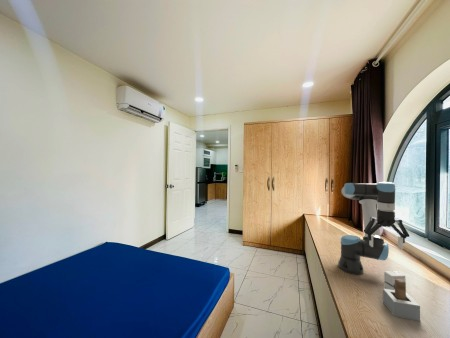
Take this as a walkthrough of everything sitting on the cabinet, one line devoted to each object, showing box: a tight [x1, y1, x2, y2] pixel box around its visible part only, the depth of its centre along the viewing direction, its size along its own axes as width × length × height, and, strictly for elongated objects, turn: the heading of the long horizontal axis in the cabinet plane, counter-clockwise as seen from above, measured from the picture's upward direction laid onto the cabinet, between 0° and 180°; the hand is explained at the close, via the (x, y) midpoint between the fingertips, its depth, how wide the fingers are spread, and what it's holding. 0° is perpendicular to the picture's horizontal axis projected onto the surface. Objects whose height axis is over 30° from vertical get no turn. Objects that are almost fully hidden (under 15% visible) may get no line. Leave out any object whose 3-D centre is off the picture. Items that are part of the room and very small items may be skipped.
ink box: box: [383, 270, 407, 290], centre depth 104 cm, size 9×5×12 cm, turn 92°
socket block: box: [382, 287, 421, 322], centre depth 91 cm, size 10×10×7 cm
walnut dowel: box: [395, 279, 407, 301], centre depth 91 cm, size 4×4×15 cm
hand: (385, 247), depth 101 cm, fingers open, 13 cm apart
